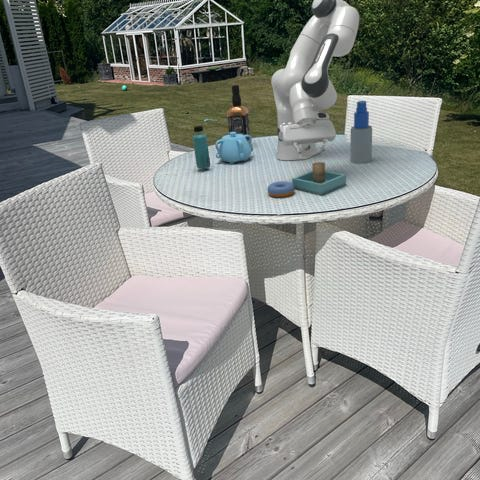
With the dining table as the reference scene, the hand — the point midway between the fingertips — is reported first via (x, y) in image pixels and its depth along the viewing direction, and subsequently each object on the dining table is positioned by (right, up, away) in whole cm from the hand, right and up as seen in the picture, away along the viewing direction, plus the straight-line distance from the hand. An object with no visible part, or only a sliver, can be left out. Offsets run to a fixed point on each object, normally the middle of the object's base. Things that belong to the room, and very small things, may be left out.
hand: (312, 151), depth 168 cm
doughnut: (-12, -16, -2) cm, 20 cm away
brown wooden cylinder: (+3, -12, 0) cm, 12 cm away
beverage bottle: (-44, -1, +38) cm, 58 cm away
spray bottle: (+26, +1, +27) cm, 37 cm away
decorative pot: (-29, +5, +49) cm, 57 cm away
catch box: (+3, -13, +1) cm, 13 cm away
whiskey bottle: (-26, +16, +71) cm, 78 cm away
